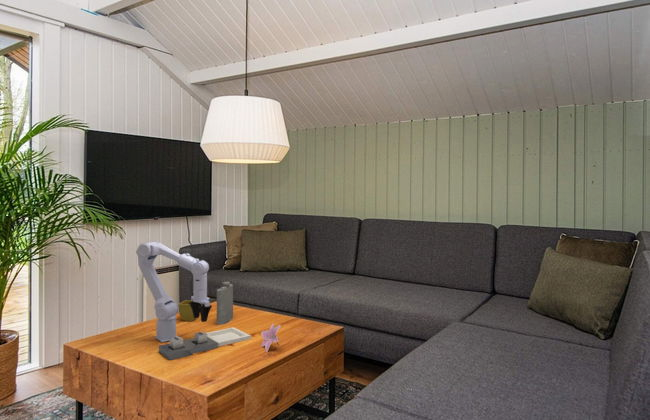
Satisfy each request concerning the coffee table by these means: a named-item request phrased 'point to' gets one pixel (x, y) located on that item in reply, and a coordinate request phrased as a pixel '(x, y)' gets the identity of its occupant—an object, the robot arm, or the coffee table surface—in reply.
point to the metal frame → (186, 349)
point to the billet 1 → (176, 343)
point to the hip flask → (225, 303)
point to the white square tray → (228, 336)
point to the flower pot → (186, 311)
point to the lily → (270, 336)
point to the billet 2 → (200, 338)
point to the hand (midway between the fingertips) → (200, 319)
